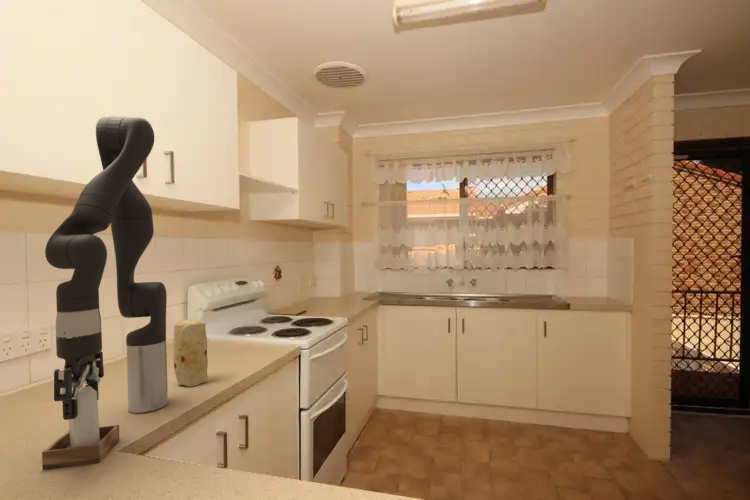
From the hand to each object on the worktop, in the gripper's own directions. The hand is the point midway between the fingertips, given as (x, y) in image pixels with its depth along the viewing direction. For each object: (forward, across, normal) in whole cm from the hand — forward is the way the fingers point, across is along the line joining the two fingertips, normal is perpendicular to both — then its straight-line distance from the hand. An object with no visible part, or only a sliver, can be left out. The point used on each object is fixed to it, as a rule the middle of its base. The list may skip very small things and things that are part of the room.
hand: (81, 409), depth 82 cm
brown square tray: (+9, 0, 0) cm, 9 cm away
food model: (+10, -40, +11) cm, 42 cm away
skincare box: (+8, 0, 0) cm, 8 cm away
